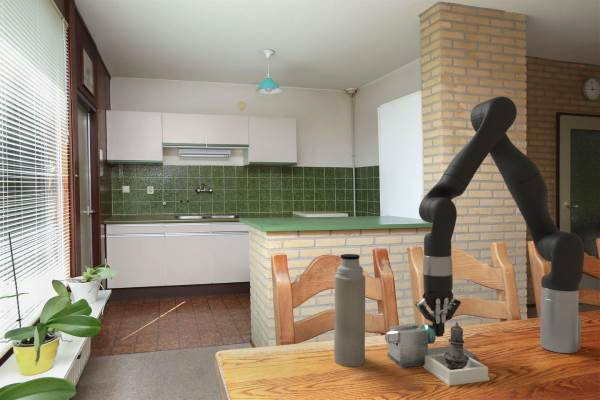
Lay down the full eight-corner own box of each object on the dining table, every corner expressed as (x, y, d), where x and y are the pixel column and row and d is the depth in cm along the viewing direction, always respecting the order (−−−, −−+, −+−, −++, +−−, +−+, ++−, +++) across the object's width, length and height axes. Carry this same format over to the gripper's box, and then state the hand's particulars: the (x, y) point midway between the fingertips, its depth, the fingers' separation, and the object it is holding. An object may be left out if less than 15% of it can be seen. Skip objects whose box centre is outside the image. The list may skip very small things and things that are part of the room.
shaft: (425, 339, 122) (425, 321, 122) (435, 346, 117) (435, 327, 117) (383, 344, 119) (383, 325, 118) (391, 350, 114) (392, 331, 114)
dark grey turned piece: (470, 377, 106) (471, 326, 106) (444, 374, 107) (445, 325, 107) (466, 367, 112) (467, 319, 112) (442, 365, 113) (443, 318, 113)
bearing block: (458, 348, 127) (458, 318, 126) (476, 359, 119) (477, 327, 119) (387, 356, 121) (387, 325, 120) (402, 367, 113) (402, 334, 113)
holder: (461, 362, 116) (461, 351, 116) (489, 380, 106) (489, 367, 106) (423, 367, 113) (423, 355, 113) (449, 385, 103) (449, 372, 103)
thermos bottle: (346, 352, 123) (347, 251, 122) (370, 360, 118) (371, 254, 117) (328, 360, 117) (328, 254, 117) (352, 369, 112) (353, 258, 111)
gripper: (451, 267, 125) (451, 328, 126) (408, 271, 121) (409, 334, 122) (468, 272, 118) (468, 337, 118) (423, 276, 114) (424, 343, 115)
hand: (438, 335), depth 120 cm, fingers closed
